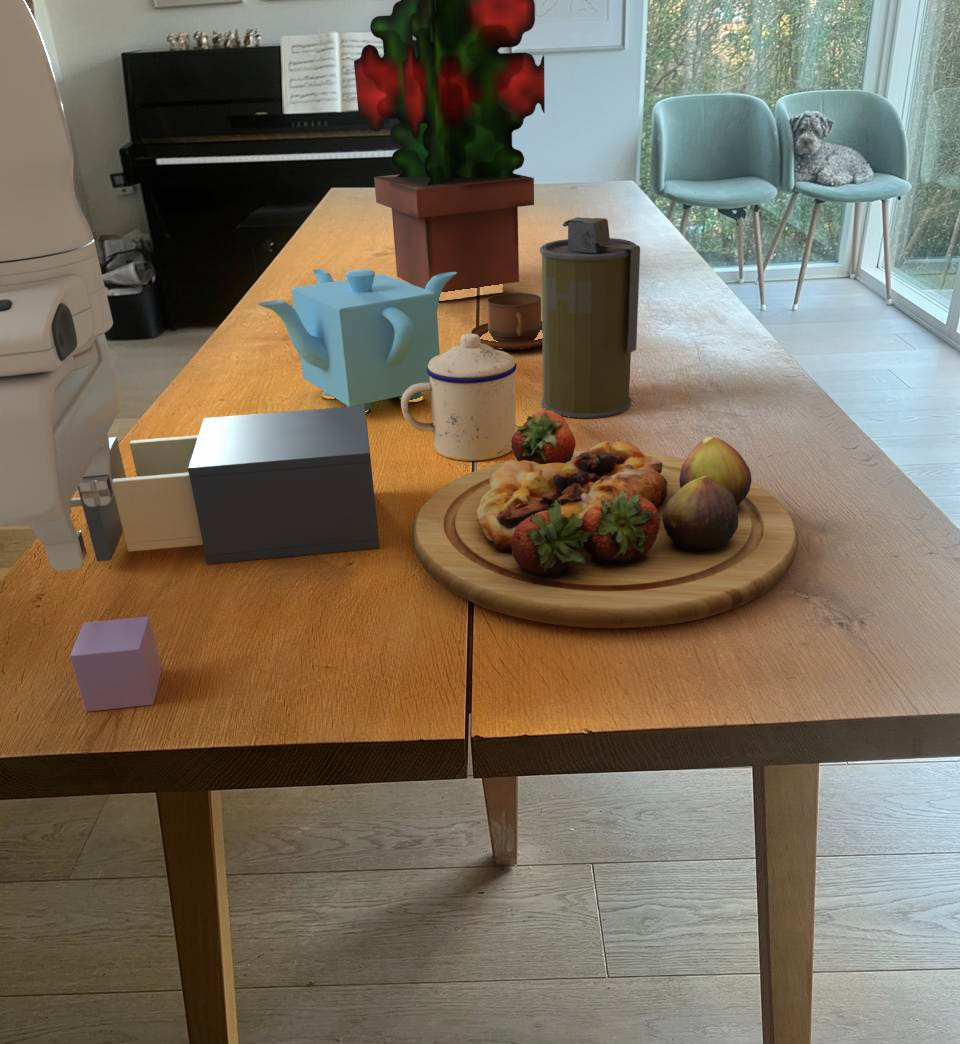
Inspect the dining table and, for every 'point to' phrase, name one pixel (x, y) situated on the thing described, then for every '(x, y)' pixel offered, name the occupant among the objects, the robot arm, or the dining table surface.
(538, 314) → the cup and saucer
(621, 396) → the canister
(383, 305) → the teakettle
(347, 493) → the grey drawer box
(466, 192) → the potted plant
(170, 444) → the drawer
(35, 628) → the dining table surface
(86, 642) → the purple block
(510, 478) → the wooden plate
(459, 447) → the teacup with lid
